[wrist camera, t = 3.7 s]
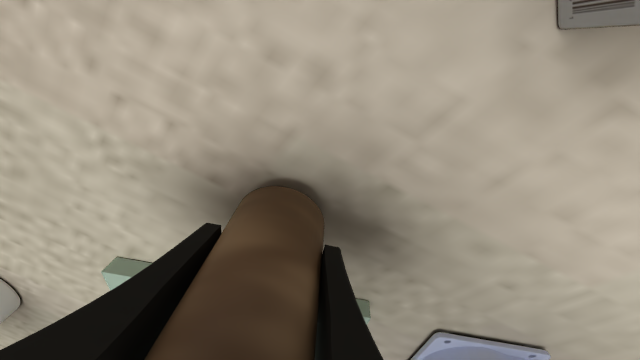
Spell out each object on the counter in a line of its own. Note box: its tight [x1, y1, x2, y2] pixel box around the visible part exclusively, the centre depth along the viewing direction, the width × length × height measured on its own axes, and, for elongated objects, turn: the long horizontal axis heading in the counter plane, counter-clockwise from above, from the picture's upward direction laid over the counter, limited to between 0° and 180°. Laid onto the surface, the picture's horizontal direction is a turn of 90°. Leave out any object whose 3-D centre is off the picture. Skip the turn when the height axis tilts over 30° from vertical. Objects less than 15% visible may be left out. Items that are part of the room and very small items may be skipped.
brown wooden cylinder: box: [144, 186, 324, 360], centre depth 9 cm, size 4×4×7 cm
